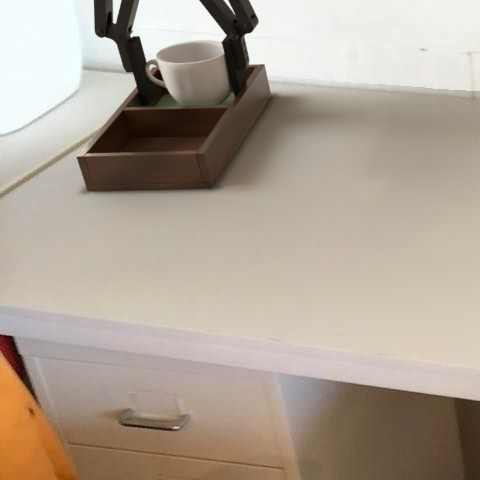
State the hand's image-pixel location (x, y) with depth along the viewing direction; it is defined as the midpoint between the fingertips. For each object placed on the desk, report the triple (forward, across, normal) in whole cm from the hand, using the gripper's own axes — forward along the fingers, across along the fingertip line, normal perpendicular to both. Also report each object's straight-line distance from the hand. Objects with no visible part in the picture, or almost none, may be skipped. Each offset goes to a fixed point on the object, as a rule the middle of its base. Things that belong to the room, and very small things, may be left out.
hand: (195, 99), depth 145 cm
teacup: (0, 0, 0) cm, 0 cm away
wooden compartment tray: (+2, 0, +6) cm, 6 cm away
